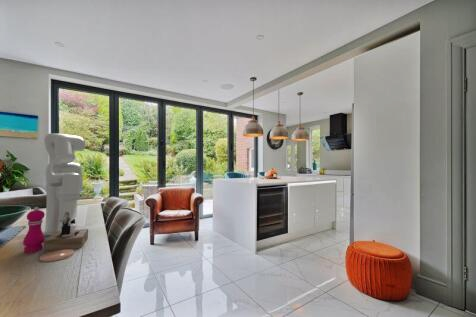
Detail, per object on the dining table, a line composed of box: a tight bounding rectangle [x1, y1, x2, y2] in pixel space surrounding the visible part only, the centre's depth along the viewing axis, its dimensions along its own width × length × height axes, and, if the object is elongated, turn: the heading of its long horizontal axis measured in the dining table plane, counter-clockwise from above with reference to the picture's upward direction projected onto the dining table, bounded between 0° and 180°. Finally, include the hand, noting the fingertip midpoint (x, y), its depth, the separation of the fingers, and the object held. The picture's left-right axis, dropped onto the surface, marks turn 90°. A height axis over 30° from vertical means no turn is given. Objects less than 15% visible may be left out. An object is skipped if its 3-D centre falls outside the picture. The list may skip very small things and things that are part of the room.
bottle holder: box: [42, 228, 89, 254], centre depth 104 cm, size 16×14×5 cm
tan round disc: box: [39, 249, 75, 263], centre depth 90 cm, size 11×11×1 cm
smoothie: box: [61, 223, 78, 237], centre depth 104 cm, size 6×6×14 cm
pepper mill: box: [22, 206, 46, 254], centre depth 97 cm, size 7×7×20 cm
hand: (68, 231), depth 104 cm, fingers open, 9 cm apart
